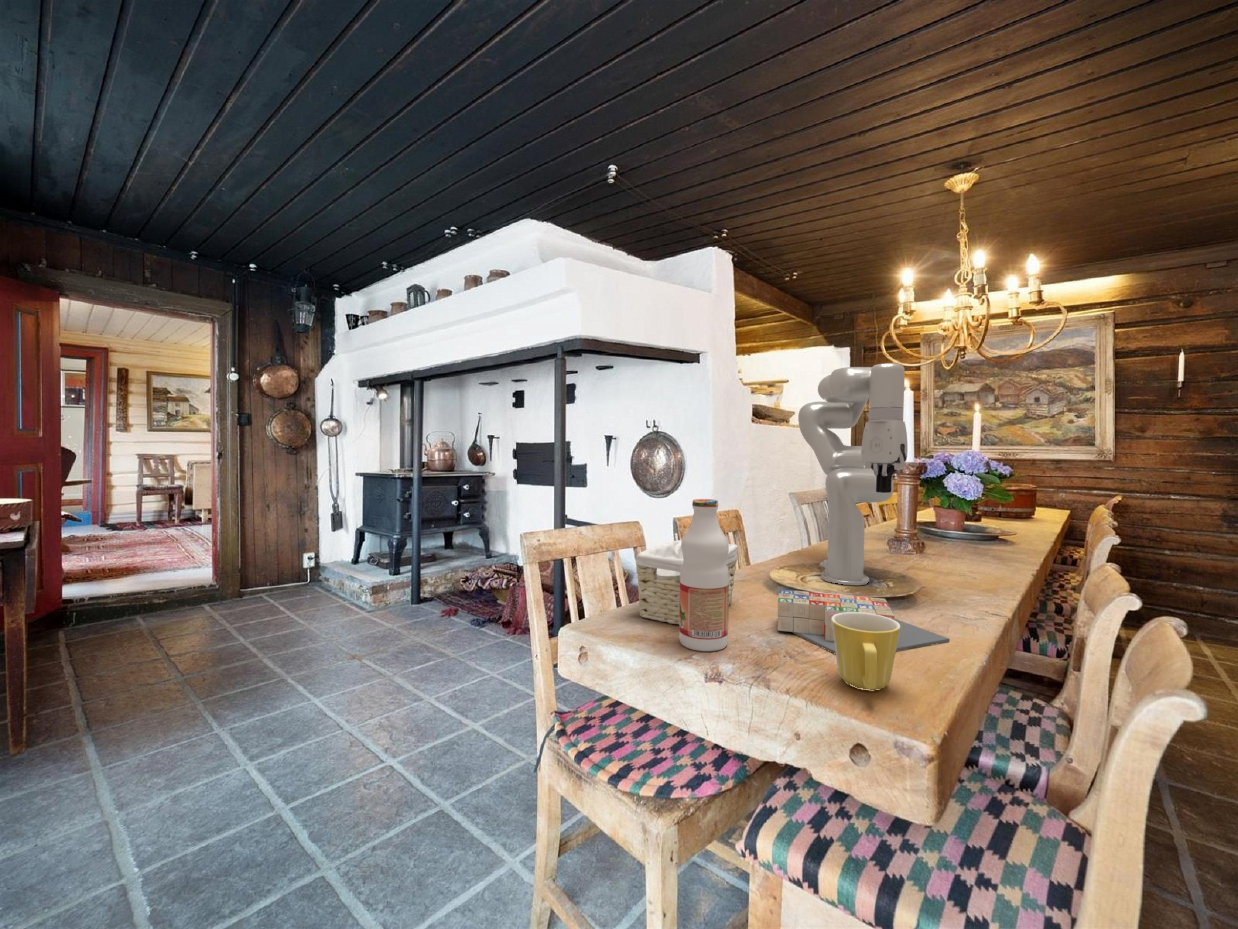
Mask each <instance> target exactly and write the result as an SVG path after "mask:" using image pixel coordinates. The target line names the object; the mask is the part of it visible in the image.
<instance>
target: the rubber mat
mask: <svg viewBox="0 0 1238 929" xmlns="http://www.w3.org/2000/svg"><path fill="white" fill-rule="evenodd" d="M894 620H895V621H896V622H898V623H899V624H900V633H899V639H898V644H897V649H896V652H898V651H897V650H901V651H906V650H905V649H907V650H910V649H909V648H912V649H914V648H913V647H918V648H922V646H923V647H927V646H928V645H929V646H932V645H931V644H934V645H937V644H936V643H940V644H944V643H945V644H946V643H949V641H950V638H948V637H946V636H943V635H941V634H937V633H935V632H933V631H930V630H927V629H925V628H923V627H919V626H917V625H913V624H911V623H908V622H905V621H902V620H900V619H898V618H895V617H894ZM792 634H794V635H795V636H797V637H800V638H801V639H804V640H806V641H807V640H808V641H807V642H808V643H811V644H813V643H814V644H813V645H815V644H816V645H815V646H817V645H818V647H819V646H820V647H819V648H821V647H823V648H825V649H826V651H827V650H829V651H831V652H833V653H835V654H836V652H835V645H834V641H826V640H825V635H815V634H806V633H796V632H792ZM926 645H927V646H926ZM823 648H822V649H823ZM825 649H824V650H825ZM829 651H828V652H829ZM831 652H830V653H831ZM833 653H832V654H833ZM835 654H834V655H835Z"/></svg>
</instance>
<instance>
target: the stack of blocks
mask: <svg viewBox="0 0 1238 929" xmlns="http://www.w3.org/2000/svg"><path fill="white" fill-rule="evenodd" d="M777 597H778V598H777V631H780V632H790V633H791V632H796V633H806V634H815V635H825V640H826V641H834V638H833V631H832V622H831V618H832V616H834V615H835V614H838V613H844V612H862V613H870V614H876V615H880V616H884V617H887V618H890V619H892V620H894V618H895V614H894V613H893V610H892V609H891V607H890V605H889V603H888V601H887V599H886V598H881V597H879V598H878V597H870V596H864V595H851V594H842V593H841V594H840V593H839V594H833V593H820V592H819V593H818V592H809V591H806V590H805V591H803V590H790V589H779V591H778V596H777Z"/></svg>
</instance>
